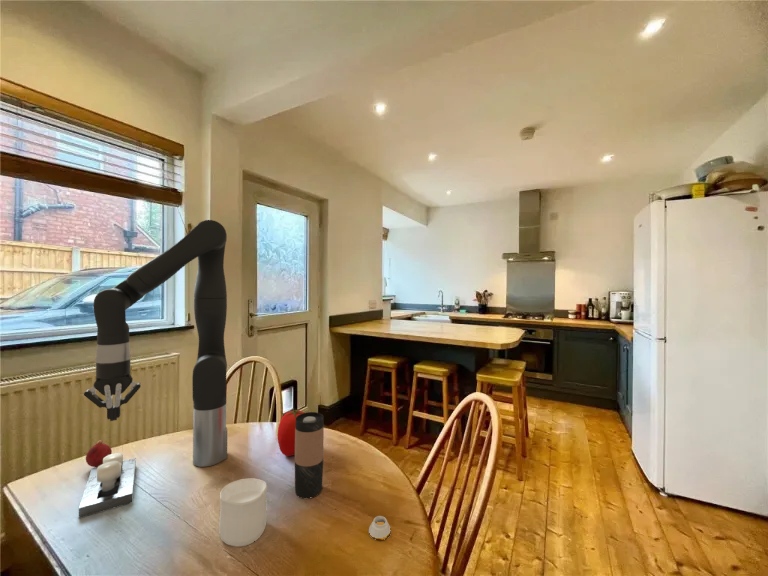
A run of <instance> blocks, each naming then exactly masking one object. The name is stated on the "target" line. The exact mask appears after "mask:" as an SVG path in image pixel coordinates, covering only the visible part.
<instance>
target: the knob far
mask: <svg viewBox="0 0 768 576" xmlns="http://www.w3.org/2000/svg"><path fill="white" fill-rule="evenodd" d="M111 461H118V462H120V463H121V466H122V465H123V461H124V454H123V453H122V452H116V453H115V452H114V453H112V454H110V455H108V456H106V457H104V458H103V464H104V463H107V462H111Z"/></svg>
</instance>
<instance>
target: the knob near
mask: <svg viewBox="0 0 768 576" xmlns="http://www.w3.org/2000/svg"><path fill="white" fill-rule="evenodd" d="M119 474H120V462H118V461H111V462H107V463H104V464H102V465H100V466H99V467H98V468H97V481H98V482H102V491H109V490H111V489H113V488H114V480H115V478H116V477H117V476H119Z"/></svg>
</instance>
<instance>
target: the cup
mask: <svg viewBox="0 0 768 576" xmlns="http://www.w3.org/2000/svg"><path fill="white" fill-rule="evenodd" d="M267 490H268V483H266V481H264V480H263V479H259V478H254V477H253V478H251V477H250V478H248V477H247V478H242V479H241V478H240V479H237V480H234V481H231V482H230V483H227V484H225V486H224V487H223V488H222V489H221V490H220V493H219V500H220V502H219V503H220V510H219V511H220V513H219V519H218V532H219V538H220V540H221V541H222V542H223V543H224V544H226V545H228V546H231V547H237V548H238V547H245V546H248V545H251V544H252V543H255V542H256V541H257V540H259V538H260V537H261V536H262V534H264V532H265V530H266V529H265V528H266V526H267V521H268V517H267V516H268V515H267V514H268V510H267V492H268V491H267ZM254 541H255V542H254Z"/></svg>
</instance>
